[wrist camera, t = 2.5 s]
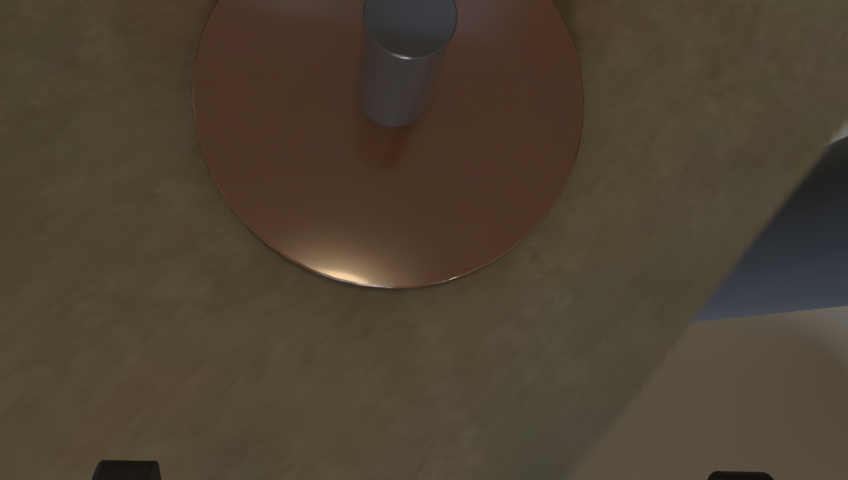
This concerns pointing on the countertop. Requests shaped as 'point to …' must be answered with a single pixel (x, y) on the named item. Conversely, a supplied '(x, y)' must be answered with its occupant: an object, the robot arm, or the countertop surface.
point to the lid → (388, 129)
